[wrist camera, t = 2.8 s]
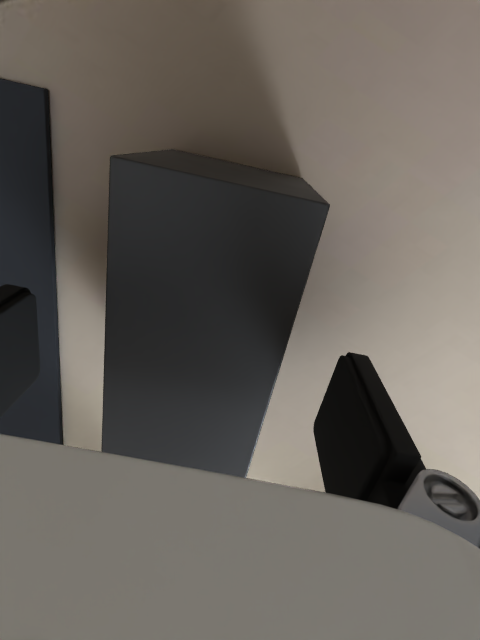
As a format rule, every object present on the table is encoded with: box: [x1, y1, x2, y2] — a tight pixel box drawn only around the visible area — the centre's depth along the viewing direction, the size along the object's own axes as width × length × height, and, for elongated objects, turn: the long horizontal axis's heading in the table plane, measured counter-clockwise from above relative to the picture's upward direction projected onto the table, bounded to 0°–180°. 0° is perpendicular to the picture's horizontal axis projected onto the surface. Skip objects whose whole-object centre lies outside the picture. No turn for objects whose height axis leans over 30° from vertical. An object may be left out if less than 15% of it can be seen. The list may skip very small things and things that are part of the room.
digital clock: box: [102, 149, 330, 478], centre depth 13 cm, size 10×5×6 cm, turn 169°
